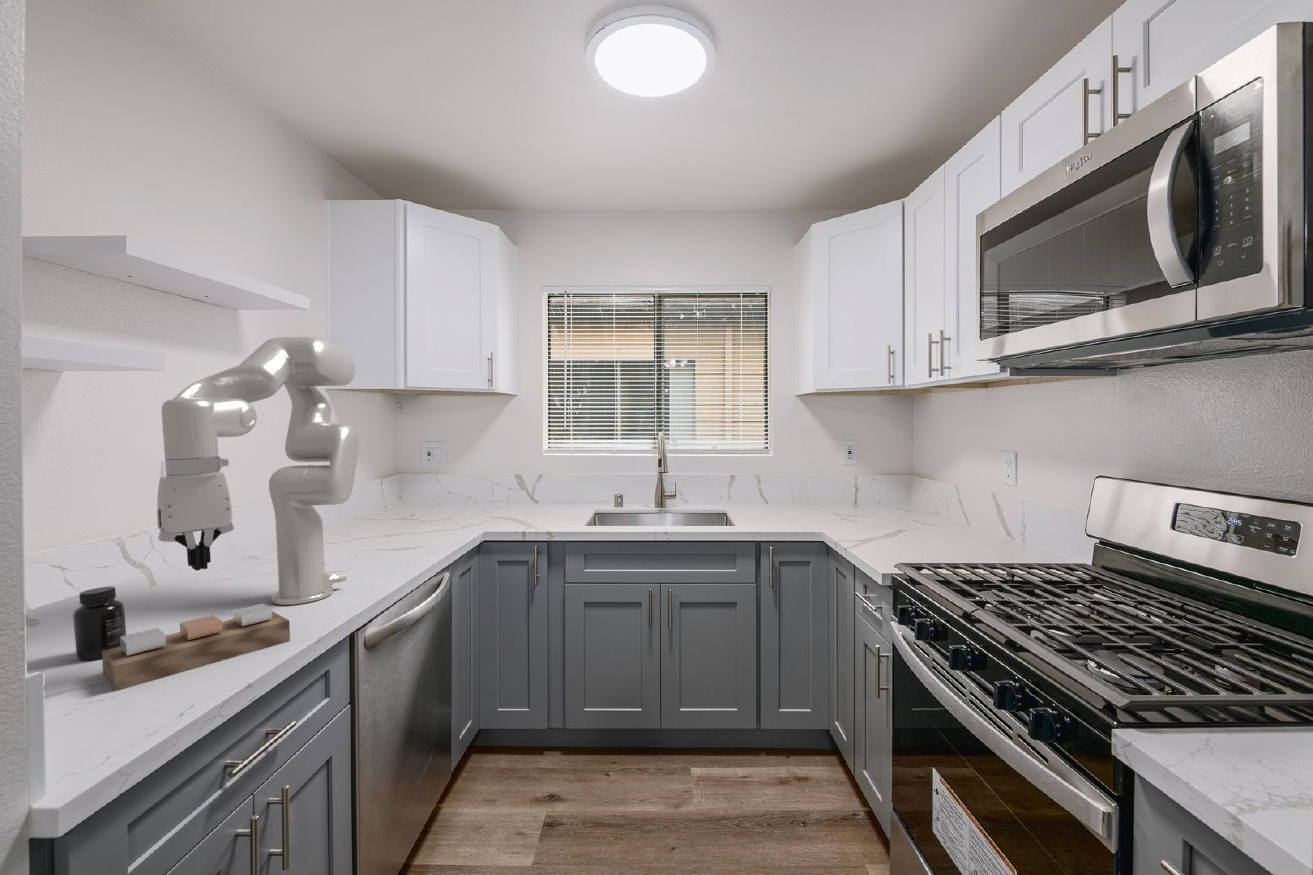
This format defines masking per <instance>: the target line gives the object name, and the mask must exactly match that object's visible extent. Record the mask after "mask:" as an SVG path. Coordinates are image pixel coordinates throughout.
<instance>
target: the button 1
mask: <svg viewBox="0 0 1313 875" xmlns="http://www.w3.org/2000/svg"><path fill="white" fill-rule="evenodd" d="M120 645H121V649H122V650H123V652H124V653H125V654H126V655H127V656H128V655H132V654H136V653H137V654H138V653H142V652H146V651H150V650H151V649H155V648H159V647H163V646H166V633H164V631H162V630H161V629H160V628H159V627H156V628H152V629H146V630H143V631H140V632H136V633H130V634H126V636H121V637H120Z"/></svg>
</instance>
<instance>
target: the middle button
mask: <svg viewBox="0 0 1313 875" xmlns="http://www.w3.org/2000/svg"><path fill="white" fill-rule="evenodd" d="M222 622H223V620H222V619H220V618H218V616H216V615H214V614H212V615H211V614H210V615H208V616H203V617H199V618H195V619H191V620H186V621H181V622H179V632H180V634H181V635H182V636H184V637H185V638H186V639H187V640H191V639H197V638H201V637H205V636H208V635H210V634H214V633H218V632H222Z"/></svg>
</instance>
